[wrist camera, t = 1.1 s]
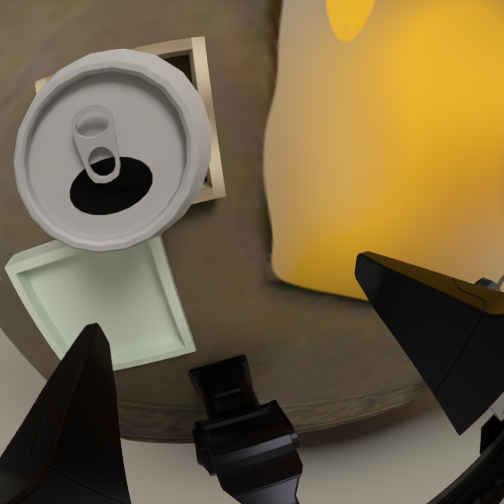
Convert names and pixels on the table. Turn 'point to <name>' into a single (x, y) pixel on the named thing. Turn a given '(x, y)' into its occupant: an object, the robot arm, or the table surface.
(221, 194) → the holder
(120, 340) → the tray
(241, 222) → the table surface
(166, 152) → the can
